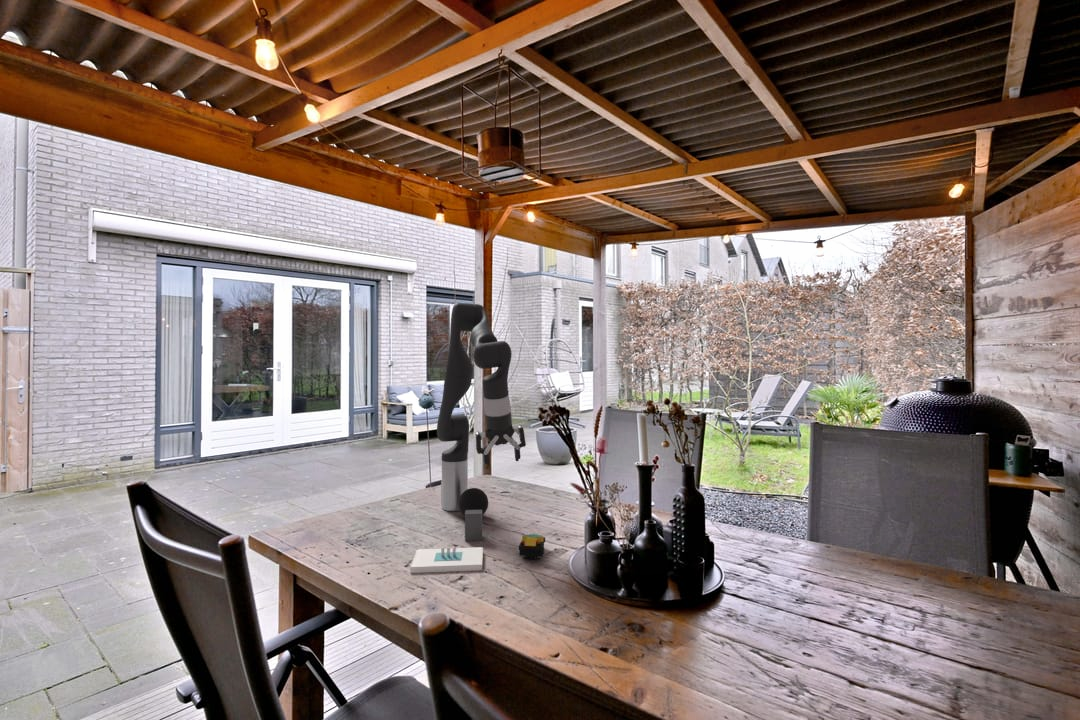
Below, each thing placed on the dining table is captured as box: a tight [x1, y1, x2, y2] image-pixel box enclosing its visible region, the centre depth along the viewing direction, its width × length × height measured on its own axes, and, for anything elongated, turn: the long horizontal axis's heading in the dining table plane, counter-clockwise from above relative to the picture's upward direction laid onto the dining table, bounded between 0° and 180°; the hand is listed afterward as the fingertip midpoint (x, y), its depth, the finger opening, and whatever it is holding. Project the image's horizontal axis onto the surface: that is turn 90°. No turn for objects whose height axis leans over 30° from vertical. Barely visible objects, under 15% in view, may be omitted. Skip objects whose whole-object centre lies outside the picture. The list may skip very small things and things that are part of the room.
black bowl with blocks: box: [518, 532, 546, 560], centre depth 146 cm, size 6×13×6 cm, turn 174°
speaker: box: [458, 487, 489, 517], centre depth 178 cm, size 10×10×10 cm
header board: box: [409, 546, 484, 574], centre depth 140 cm, size 18×12×4 cm, turn 95°
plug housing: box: [464, 510, 483, 542], centre depth 158 cm, size 5×4×8 cm
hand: (502, 462), depth 155 cm, fingers open, 8 cm apart
